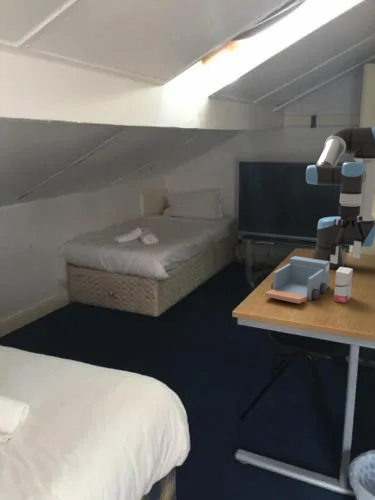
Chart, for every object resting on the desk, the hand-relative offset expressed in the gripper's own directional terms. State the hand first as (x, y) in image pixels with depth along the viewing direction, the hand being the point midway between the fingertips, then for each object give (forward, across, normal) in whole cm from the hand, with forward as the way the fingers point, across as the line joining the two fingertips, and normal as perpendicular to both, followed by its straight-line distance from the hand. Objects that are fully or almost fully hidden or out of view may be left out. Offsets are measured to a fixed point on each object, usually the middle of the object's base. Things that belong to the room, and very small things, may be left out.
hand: (345, 260), depth 179 cm
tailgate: (+14, +16, -13) cm, 24 cm away
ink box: (+16, 0, 0) cm, 16 cm away
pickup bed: (+15, +5, -17) cm, 23 cm away
